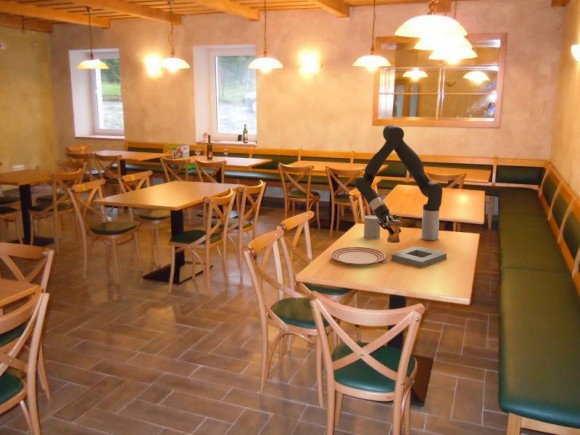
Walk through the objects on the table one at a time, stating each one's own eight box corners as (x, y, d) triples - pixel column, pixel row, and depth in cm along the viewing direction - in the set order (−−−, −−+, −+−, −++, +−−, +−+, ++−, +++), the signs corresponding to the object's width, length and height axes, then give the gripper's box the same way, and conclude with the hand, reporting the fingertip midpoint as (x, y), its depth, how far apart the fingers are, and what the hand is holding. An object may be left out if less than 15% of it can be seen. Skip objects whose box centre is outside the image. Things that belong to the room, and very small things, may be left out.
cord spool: (392, 238, 282) (392, 219, 280) (402, 241, 277) (403, 221, 275) (384, 241, 278) (385, 221, 275) (394, 243, 273) (395, 223, 271)
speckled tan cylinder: (362, 238, 306) (363, 218, 303) (365, 234, 315) (365, 214, 312) (378, 239, 303) (379, 219, 300) (381, 235, 312) (381, 215, 309)
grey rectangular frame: (416, 251, 280) (416, 246, 279) (446, 258, 267) (446, 253, 266) (391, 259, 265) (391, 254, 264) (421, 268, 252) (422, 262, 252)
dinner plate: (384, 270, 250) (384, 263, 249) (327, 266, 255) (327, 260, 255) (385, 254, 276) (385, 247, 276) (334, 251, 282) (334, 245, 281)
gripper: (374, 205, 274) (392, 231, 268) (391, 201, 283) (409, 226, 277) (366, 214, 279) (384, 239, 273) (383, 209, 288) (400, 234, 283)
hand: (396, 233), depth 275 cm, fingers closed on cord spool, 5 cm apart
